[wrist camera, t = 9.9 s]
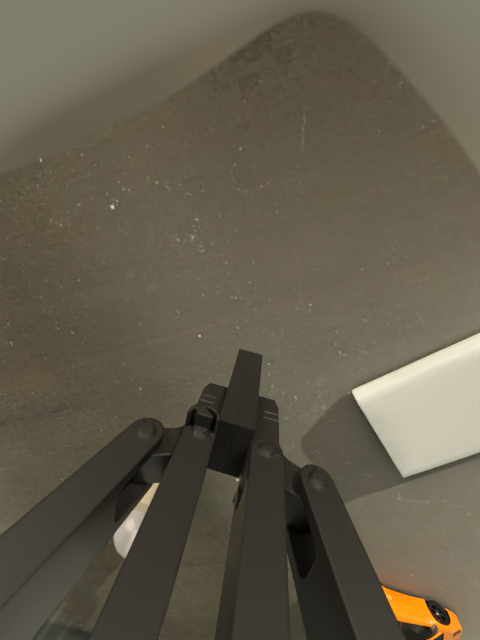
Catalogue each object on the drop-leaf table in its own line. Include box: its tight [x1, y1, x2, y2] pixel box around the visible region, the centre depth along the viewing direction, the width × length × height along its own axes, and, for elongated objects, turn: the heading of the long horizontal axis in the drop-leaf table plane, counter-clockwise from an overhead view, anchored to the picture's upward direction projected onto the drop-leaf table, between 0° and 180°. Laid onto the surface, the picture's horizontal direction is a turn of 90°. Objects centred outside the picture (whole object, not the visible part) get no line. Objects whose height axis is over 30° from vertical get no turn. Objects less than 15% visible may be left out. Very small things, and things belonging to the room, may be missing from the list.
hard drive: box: [351, 333, 480, 478], centre depth 18 cm, size 2×8×12 cm
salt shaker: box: [113, 483, 159, 558], centre depth 21 cm, size 5×5×8 cm
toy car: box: [382, 586, 462, 640], centre depth 26 cm, size 12×12×3 cm
